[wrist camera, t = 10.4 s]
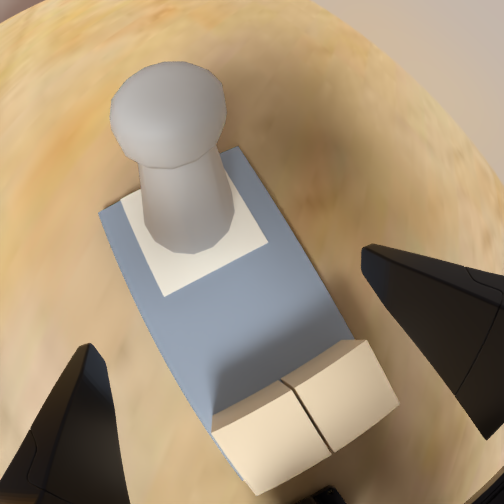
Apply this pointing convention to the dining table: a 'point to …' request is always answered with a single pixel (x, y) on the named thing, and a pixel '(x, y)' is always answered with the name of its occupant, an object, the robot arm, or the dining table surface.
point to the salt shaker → (176, 152)
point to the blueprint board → (252, 336)
